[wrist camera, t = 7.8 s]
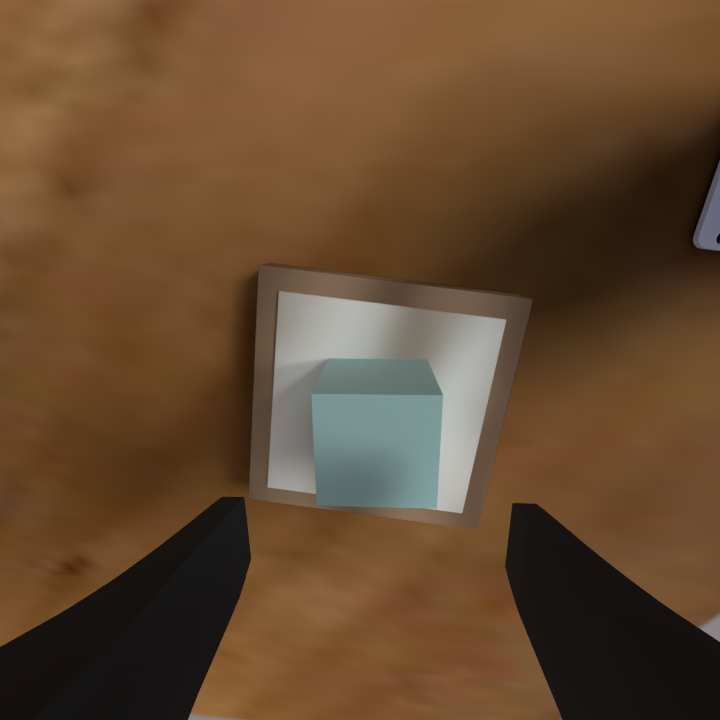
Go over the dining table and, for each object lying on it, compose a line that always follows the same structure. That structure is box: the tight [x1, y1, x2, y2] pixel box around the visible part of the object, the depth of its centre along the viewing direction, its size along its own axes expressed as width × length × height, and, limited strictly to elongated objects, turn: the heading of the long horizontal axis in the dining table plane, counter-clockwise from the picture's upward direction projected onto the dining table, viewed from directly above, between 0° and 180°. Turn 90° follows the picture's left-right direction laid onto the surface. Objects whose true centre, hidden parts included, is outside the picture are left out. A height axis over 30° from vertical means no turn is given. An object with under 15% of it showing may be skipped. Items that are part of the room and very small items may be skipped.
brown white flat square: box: [249, 263, 533, 529], centre depth 19 cm, size 12×12×2 cm
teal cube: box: [311, 358, 443, 509], centre depth 16 cm, size 4×4×4 cm
